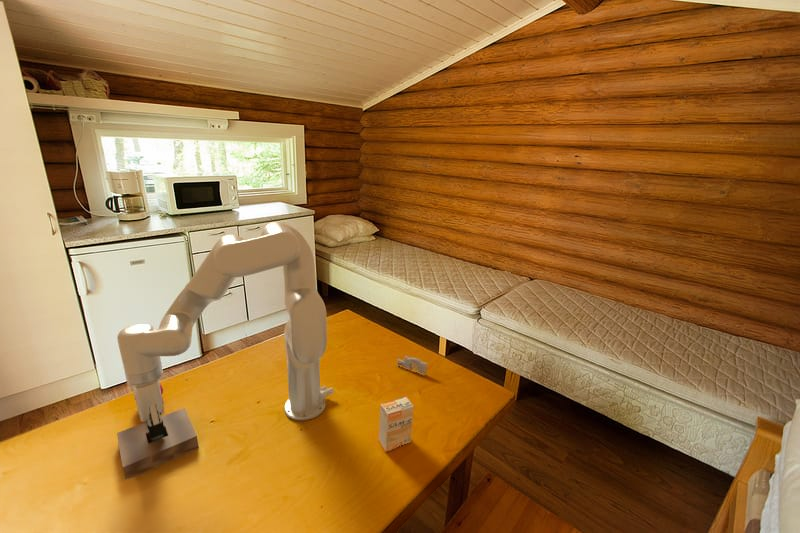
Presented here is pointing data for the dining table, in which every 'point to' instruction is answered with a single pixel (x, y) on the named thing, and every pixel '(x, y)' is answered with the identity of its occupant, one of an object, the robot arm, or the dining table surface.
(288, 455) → the dining table surface
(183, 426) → the walnut hole block
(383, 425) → the supplement box
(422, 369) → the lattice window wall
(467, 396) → the dining table surface
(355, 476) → the dining table surface
